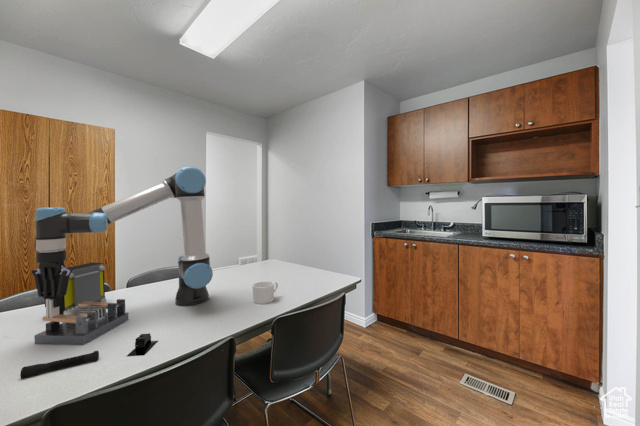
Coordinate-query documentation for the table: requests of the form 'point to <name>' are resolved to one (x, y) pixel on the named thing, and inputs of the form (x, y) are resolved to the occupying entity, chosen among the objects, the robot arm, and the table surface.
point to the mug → (264, 292)
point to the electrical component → (84, 286)
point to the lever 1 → (63, 318)
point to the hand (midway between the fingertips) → (52, 315)
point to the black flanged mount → (142, 345)
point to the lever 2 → (93, 304)
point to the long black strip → (58, 364)
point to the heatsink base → (84, 324)
